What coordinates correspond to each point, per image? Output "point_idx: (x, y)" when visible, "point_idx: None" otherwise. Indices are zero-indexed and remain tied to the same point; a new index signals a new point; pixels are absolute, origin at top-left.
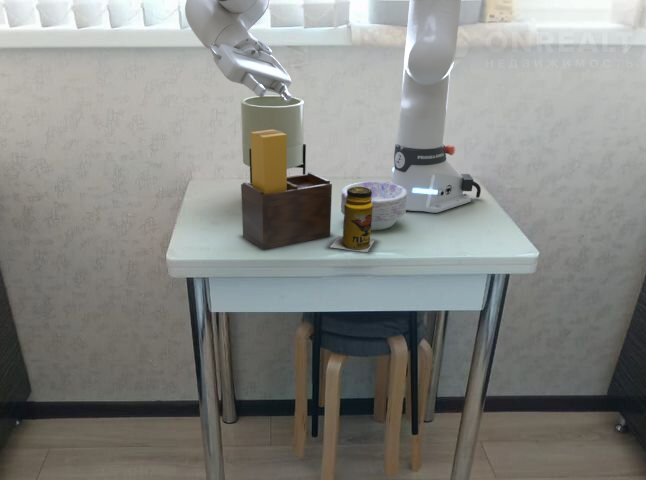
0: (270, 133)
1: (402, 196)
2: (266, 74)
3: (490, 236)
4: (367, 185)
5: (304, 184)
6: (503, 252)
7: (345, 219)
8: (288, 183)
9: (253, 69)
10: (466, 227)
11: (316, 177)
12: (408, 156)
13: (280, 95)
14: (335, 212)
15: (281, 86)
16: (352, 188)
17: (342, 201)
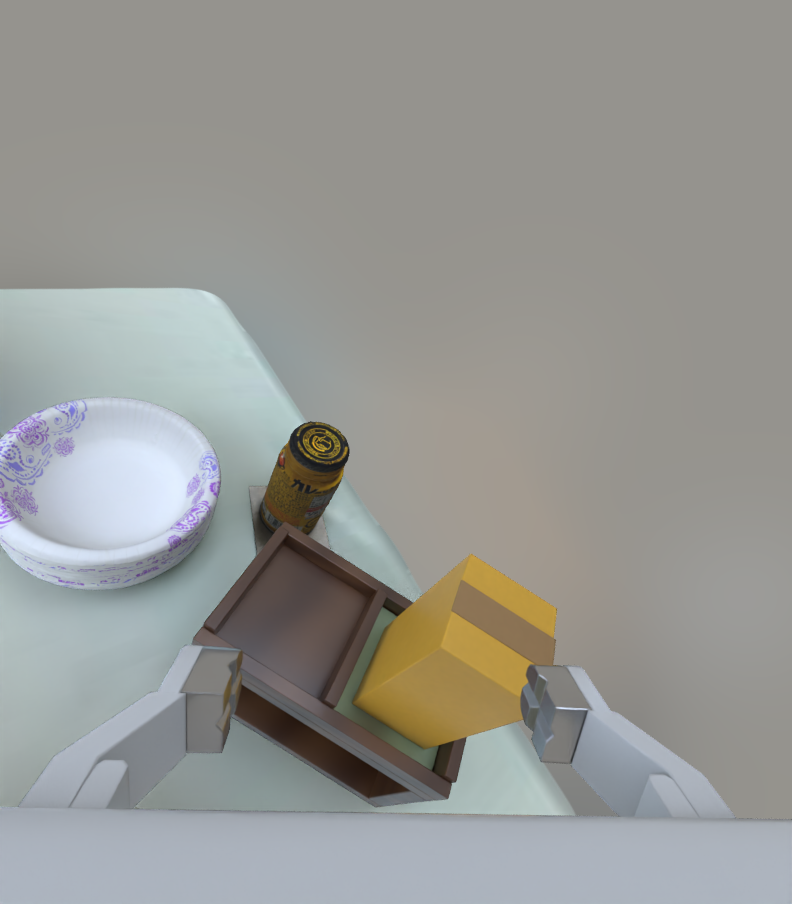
0: (507, 611)
1: (151, 403)
2: (419, 815)
3: (126, 320)
4: (13, 508)
5: (251, 634)
6: (209, 315)
7: (327, 501)
8: (372, 625)
9: (671, 833)
10: (75, 348)
11: (253, 580)
12: None
13: (148, 789)
14: (7, 660)
15: (128, 781)
16: (317, 458)
17: (169, 555)
